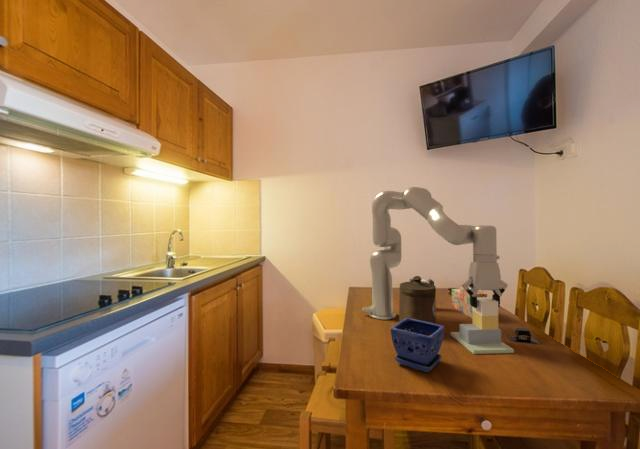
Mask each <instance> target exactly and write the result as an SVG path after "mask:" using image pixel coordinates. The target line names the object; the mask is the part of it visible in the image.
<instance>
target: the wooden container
mask: <svg viewBox="0 0 640 449" xmlns="http://www.w3.org/2000/svg"><path fill="white" fill-rule="evenodd" d="M412 279H413V280H414V281H413V282H410V281H405V282H401V283H400V284H399V302H398V304H399V306H398V307H399V308H398V309H399V312H398V313H399V316H398V318H399V320H398V321H399V322H400V321H402V320H404V319H406V318H411V319H416V320H420V321H425V322H429V323H434V324H437V309H436V308H437V306H436V305H437V304H436V302H437V301H436V294H437V291H436V290H437V289H436V288H437V287H436V285H435V284H434V285H433V284H429V283H424V282H421V280H423V279H422V277H421V276H420V275H415V276H414V277H412ZM399 322H398V323H399ZM412 329H413V328H412ZM405 331H406V329H405ZM409 331H410V329H409ZM420 332H422V330H420ZM413 333H416V332H413ZM429 334H430V333H427V335H429Z"/></svg>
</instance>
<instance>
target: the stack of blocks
mask: <svg viewBox="0 0 640 449" xmlns="http://www.w3.org/2000/svg"><path fill="white" fill-rule="evenodd" d="M468 288H469V289H471V288H470V287H469V286H468ZM476 297H488V293H486V292H484V290H479V291H478V293H477V294H476ZM451 306H452V307H453V308H454V309H456V310H458V312H460V313H462V314H464V315H465V316H467V317H469V318H470V319H472V320H473V317H472V306H471V304H470V295H469V294H468V293H467V292H466V291H465V289H464V288H463V287H462V286H461V287H460V288H451Z"/></svg>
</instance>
